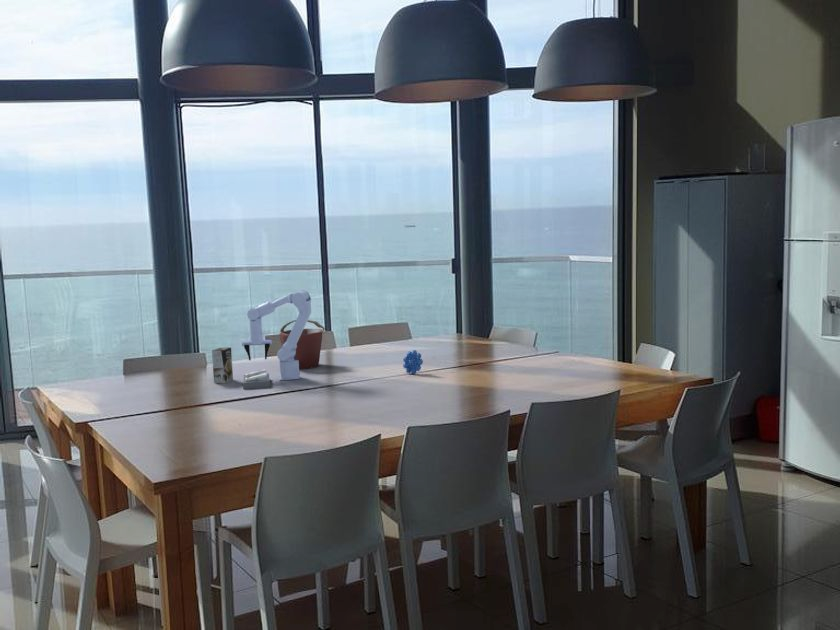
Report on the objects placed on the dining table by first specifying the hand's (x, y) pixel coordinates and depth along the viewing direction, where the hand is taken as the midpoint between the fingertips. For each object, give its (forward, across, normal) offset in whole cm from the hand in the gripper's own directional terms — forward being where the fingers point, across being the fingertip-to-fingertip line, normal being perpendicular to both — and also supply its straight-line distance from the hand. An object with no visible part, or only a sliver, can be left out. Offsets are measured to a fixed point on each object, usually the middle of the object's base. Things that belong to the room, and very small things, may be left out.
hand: (257, 359), depth 410 cm
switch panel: (+9, -1, -14) cm, 17 cm away
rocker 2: (+6, -1, -20) cm, 21 cm away
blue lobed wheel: (+10, +75, -17) cm, 77 cm away
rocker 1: (+6, -1, -9) cm, 11 cm away
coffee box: (+10, -17, -1) cm, 20 cm away
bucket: (+10, +23, +25) cm, 35 cm away
